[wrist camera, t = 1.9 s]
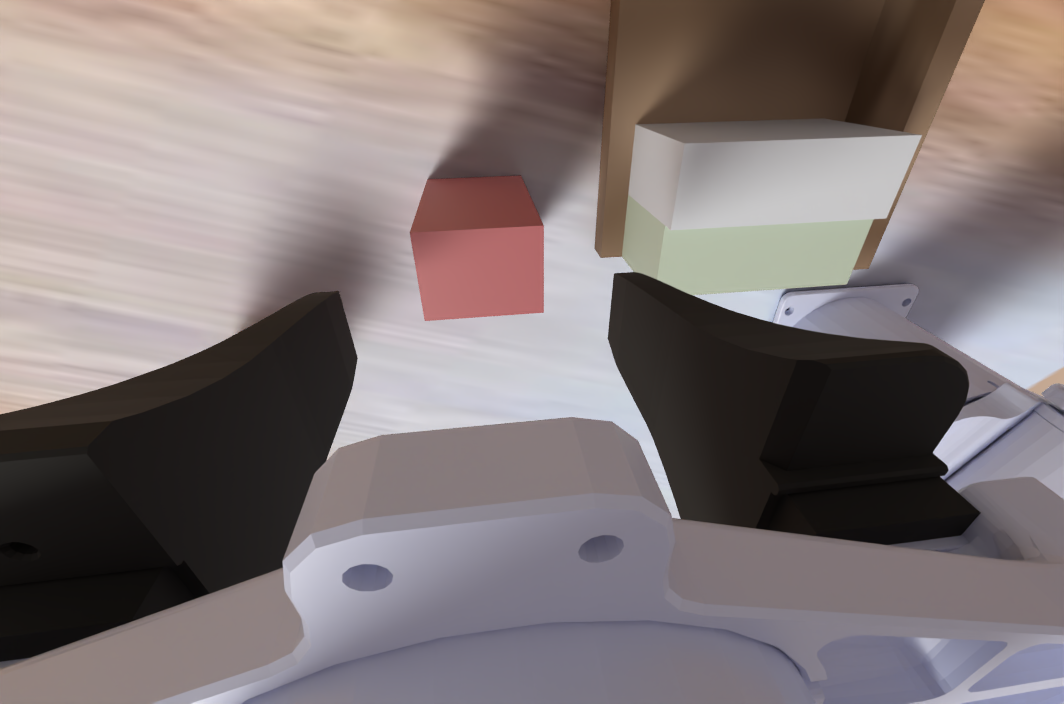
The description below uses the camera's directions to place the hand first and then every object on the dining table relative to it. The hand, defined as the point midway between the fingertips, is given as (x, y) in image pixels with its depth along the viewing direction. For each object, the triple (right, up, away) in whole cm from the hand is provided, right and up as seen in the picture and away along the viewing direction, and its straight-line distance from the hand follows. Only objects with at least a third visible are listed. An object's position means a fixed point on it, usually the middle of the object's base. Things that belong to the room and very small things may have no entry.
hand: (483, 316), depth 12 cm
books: (+9, +6, +8) cm, 14 cm away
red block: (-1, +5, +8) cm, 10 cm away
